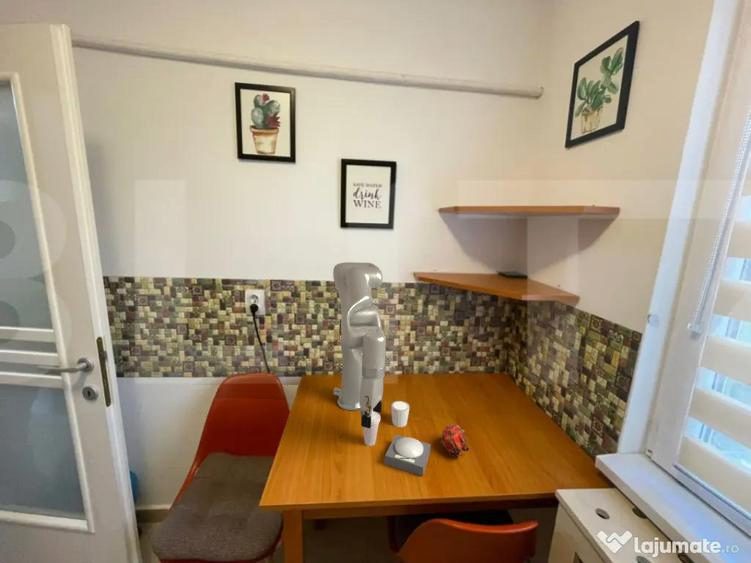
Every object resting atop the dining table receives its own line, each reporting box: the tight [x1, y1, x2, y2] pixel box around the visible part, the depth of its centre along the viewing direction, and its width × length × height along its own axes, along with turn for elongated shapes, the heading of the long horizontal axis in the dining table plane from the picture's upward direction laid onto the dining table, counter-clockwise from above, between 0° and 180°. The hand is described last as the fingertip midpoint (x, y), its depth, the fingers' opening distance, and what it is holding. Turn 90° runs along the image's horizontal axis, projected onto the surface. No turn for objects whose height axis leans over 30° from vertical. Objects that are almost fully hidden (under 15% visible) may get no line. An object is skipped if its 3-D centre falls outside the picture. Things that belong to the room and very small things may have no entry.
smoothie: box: [362, 409, 381, 447], centre depth 105 cm, size 6×6×14 cm
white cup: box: [390, 400, 410, 428], centre depth 117 cm, size 7×7×7 cm
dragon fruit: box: [440, 423, 470, 458], centre depth 104 cm, size 8×8×12 cm
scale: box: [384, 434, 432, 477], centre depth 99 cm, size 12×11×4 cm
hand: (371, 419), depth 104 cm, fingers open, 9 cm apart
